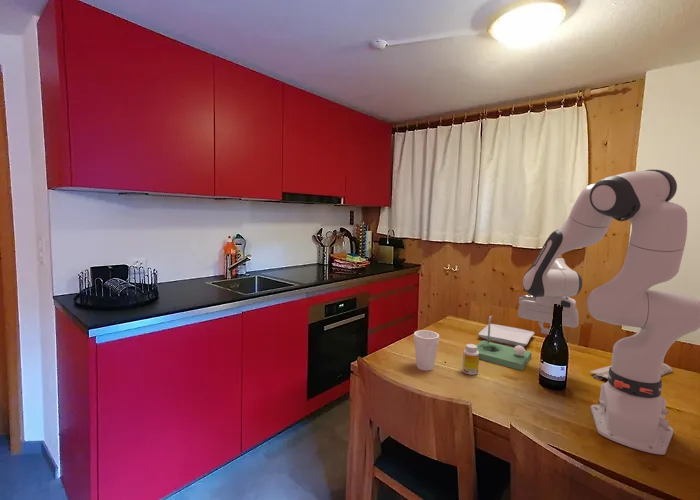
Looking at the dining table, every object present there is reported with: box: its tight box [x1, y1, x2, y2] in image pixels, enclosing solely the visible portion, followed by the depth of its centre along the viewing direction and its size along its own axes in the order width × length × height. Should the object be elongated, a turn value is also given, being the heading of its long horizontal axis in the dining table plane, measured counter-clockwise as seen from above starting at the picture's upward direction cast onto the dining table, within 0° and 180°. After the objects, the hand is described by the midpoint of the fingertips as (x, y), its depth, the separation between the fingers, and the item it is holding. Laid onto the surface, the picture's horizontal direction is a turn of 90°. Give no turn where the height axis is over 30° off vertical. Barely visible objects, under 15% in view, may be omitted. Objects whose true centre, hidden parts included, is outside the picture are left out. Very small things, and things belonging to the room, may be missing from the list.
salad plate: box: [478, 323, 535, 347], centre depth 168 cm, size 21×21×3 cm
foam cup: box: [413, 329, 440, 372], centre depth 135 cm, size 10×9×13 cm
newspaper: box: [589, 362, 674, 381], centre depth 133 cm, size 35×12×4 cm, turn 117°
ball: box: [513, 345, 526, 356], centre depth 142 cm, size 4×4×4 cm
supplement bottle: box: [462, 343, 480, 376], centre depth 132 cm, size 6×6×10 cm
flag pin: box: [486, 314, 493, 343], centre depth 156 cm, size 4×1×12 cm, turn 142°
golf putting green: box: [475, 339, 532, 371], centre depth 146 cm, size 16×20×2 cm
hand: (545, 333), depth 136 cm, fingers closed
